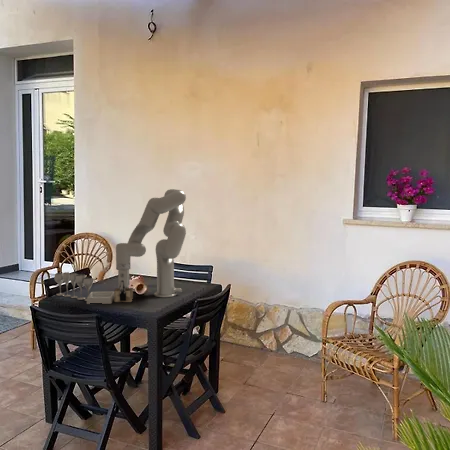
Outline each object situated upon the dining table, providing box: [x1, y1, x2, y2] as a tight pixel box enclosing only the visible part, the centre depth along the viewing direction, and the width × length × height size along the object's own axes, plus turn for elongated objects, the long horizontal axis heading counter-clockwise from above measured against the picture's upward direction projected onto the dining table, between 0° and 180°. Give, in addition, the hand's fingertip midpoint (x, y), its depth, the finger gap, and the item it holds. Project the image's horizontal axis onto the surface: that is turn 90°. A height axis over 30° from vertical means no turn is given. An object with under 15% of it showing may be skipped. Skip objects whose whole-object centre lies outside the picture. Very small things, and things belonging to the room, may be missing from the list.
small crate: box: [113, 287, 134, 303], centre depth 246 cm, size 9×7×6 cm
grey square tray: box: [86, 291, 114, 305], centre depth 245 cm, size 13×13×3 cm
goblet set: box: [53, 271, 94, 302], centre depth 250 cm, size 28×6×13 cm, turn 58°
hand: (123, 298), depth 247 cm, fingers closed on small crate, 6 cm apart
